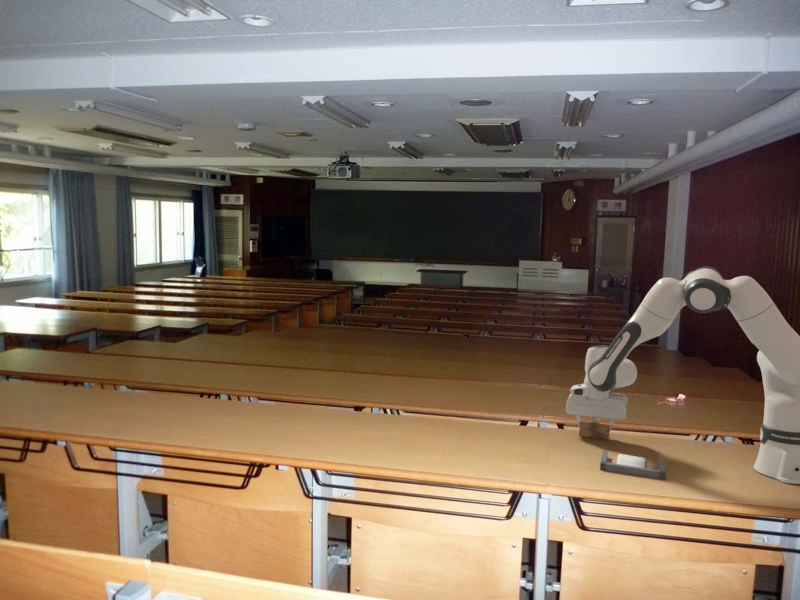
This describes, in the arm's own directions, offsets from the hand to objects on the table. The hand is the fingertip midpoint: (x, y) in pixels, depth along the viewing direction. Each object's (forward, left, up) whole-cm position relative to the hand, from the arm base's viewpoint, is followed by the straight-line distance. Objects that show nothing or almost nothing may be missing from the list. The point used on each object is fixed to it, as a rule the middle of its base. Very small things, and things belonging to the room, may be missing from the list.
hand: (594, 428), depth 217 cm
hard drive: (-13, +25, -3) cm, 28 cm away
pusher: (0, -2, -3) cm, 3 cm away
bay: (-13, +27, -3) cm, 30 cm away
